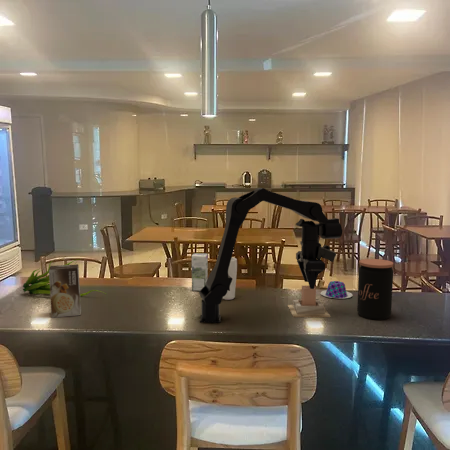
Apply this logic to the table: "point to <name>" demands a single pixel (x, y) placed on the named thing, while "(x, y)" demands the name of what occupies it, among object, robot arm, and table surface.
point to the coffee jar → (375, 289)
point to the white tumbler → (232, 273)
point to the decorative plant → (41, 283)
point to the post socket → (308, 309)
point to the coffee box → (64, 290)
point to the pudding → (336, 290)
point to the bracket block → (308, 296)
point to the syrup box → (199, 271)
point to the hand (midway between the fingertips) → (309, 285)
